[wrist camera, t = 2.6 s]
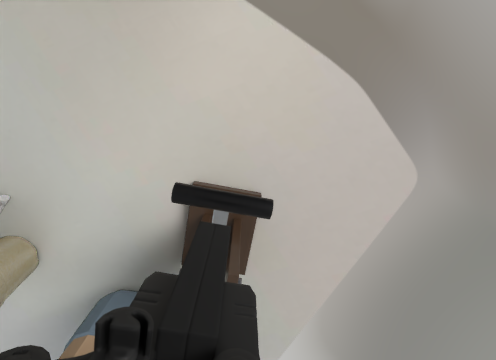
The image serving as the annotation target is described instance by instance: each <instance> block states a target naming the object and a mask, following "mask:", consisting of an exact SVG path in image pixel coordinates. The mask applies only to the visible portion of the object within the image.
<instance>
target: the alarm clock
mask: <svg viewBox="0 0 496 360" xmlns="http://www.w3.org/2000/svg"><path fill="white" fill-rule="evenodd" d="M136 294H137V292H135V291H128V290H119V291H116V292H113V293H110V294H108V295H107V296H105V297H103V298H102V299H100V300H99V302H98V303H97V304H96V305H95V307H94V308H93V309H92V310H91V312H90V313H89V315H88V316H87V317H86V319H85V320H84V321H83V323H82V324H81V325H80V327H79V328H78V330H77V331H76V332H75V334H74V335H73V336H72V338H71V339H70V340H69V342H68V343H67V345H66V346H65V349H64V352H63V354H62V355H61V357H60V358H59V359H64V358H71V357H77V356H81V355H85V354H87V353H90V352H92V351H94V339H95V323H96V322H97V321H98V320H99V319H100V318H101V317H102V316H103V315H104V314H106V313H108V312H109V311H111V310H113V309H117V308H121V307H129V306H130V304H131V303H132V301H133V300H134V297H135V296H136Z"/></svg>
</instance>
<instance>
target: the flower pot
mask: <svg viewBox="0 0 496 360" xmlns="http://www.w3.org/2000/svg"><path fill="white" fill-rule="evenodd" d="M38 262H39V260H38V258H37V251H36V249H35V247H34V246H33V245H32V244H31V243H30V242H28V241H27V240H25V239H23V238H21V237H12V236H6V237H2V238H0V307H1V306H2V305H3V303H4V301H5V299H6V298H7V297H8V296H9V295H10V294H11V293H12V292H13V291H14V290H15V289H16V288H17V287H18V286H19V285H20V284H21V283H22V282H23V281H24V280H25V279H26V278H27V277H28V276H29V275H30V274H31V273H32V272H33V271H34V270H35V269H36V267H37V265H38Z"/></svg>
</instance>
